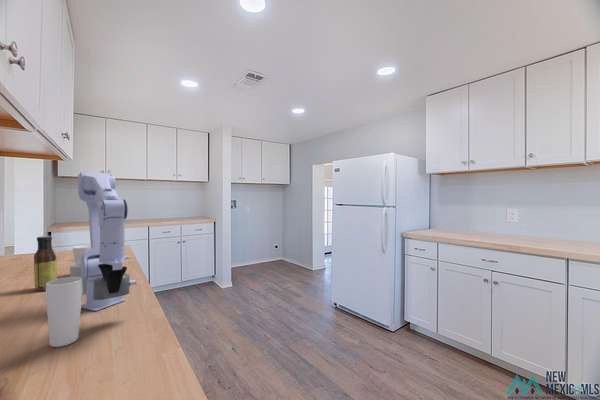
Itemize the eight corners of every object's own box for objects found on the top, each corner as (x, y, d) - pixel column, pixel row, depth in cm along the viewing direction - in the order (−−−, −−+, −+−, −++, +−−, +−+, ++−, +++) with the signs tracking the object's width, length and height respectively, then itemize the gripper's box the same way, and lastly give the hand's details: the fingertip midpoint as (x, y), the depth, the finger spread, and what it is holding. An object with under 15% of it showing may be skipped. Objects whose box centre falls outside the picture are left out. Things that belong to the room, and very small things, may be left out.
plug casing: (133, 288, 82) (133, 272, 82) (137, 292, 79) (137, 275, 79) (92, 296, 75) (92, 278, 75) (94, 301, 72) (94, 282, 72)
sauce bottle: (61, 286, 105) (61, 235, 105) (47, 291, 99) (47, 237, 99) (44, 286, 105) (44, 235, 105) (28, 291, 99) (28, 237, 99)
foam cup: (81, 272, 124) (81, 244, 123) (103, 272, 125) (104, 244, 125) (67, 279, 114) (67, 248, 114) (92, 278, 116) (92, 247, 116)
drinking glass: (44, 341, 66) (45, 280, 66) (80, 332, 70) (80, 274, 70) (45, 353, 61) (46, 287, 61) (84, 342, 66) (84, 280, 66)
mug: (65, 292, 99) (65, 264, 99) (94, 284, 108) (94, 259, 108) (80, 297, 94) (80, 268, 94) (109, 289, 103) (110, 263, 103)
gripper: (135, 244, 74) (134, 293, 74) (123, 237, 84) (123, 281, 84) (103, 247, 69) (103, 300, 69) (95, 240, 79) (94, 286, 80)
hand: (112, 290), depth 76 cm, fingers closed on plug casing, 4 cm apart
